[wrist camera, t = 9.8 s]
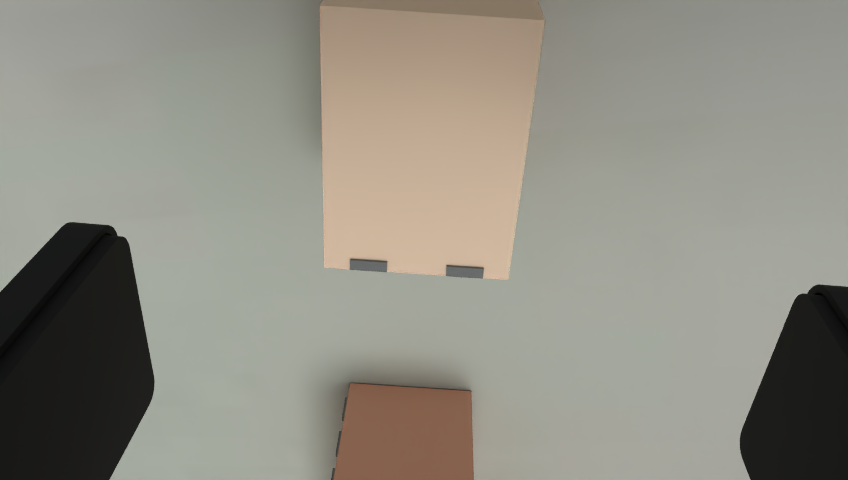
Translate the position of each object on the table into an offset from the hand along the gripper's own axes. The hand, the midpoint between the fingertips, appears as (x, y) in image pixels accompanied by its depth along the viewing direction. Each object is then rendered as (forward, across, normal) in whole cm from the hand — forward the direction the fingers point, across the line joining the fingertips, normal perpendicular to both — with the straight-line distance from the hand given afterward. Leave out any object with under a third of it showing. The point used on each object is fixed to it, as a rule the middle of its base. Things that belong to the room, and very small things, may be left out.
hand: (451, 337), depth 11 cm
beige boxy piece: (+14, +1, +1) cm, 14 cm away
